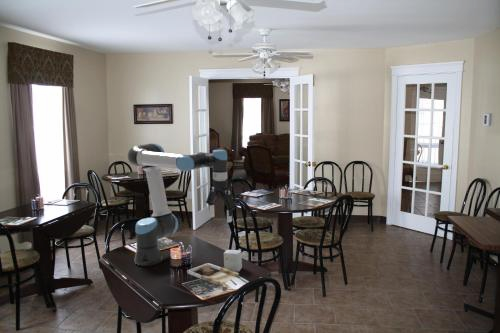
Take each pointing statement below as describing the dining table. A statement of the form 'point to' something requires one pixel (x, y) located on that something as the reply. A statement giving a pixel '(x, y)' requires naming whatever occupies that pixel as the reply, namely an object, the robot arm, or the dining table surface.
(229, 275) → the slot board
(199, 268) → the chip
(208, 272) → the chip
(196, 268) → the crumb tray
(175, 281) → the dining table surface
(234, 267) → the small box
